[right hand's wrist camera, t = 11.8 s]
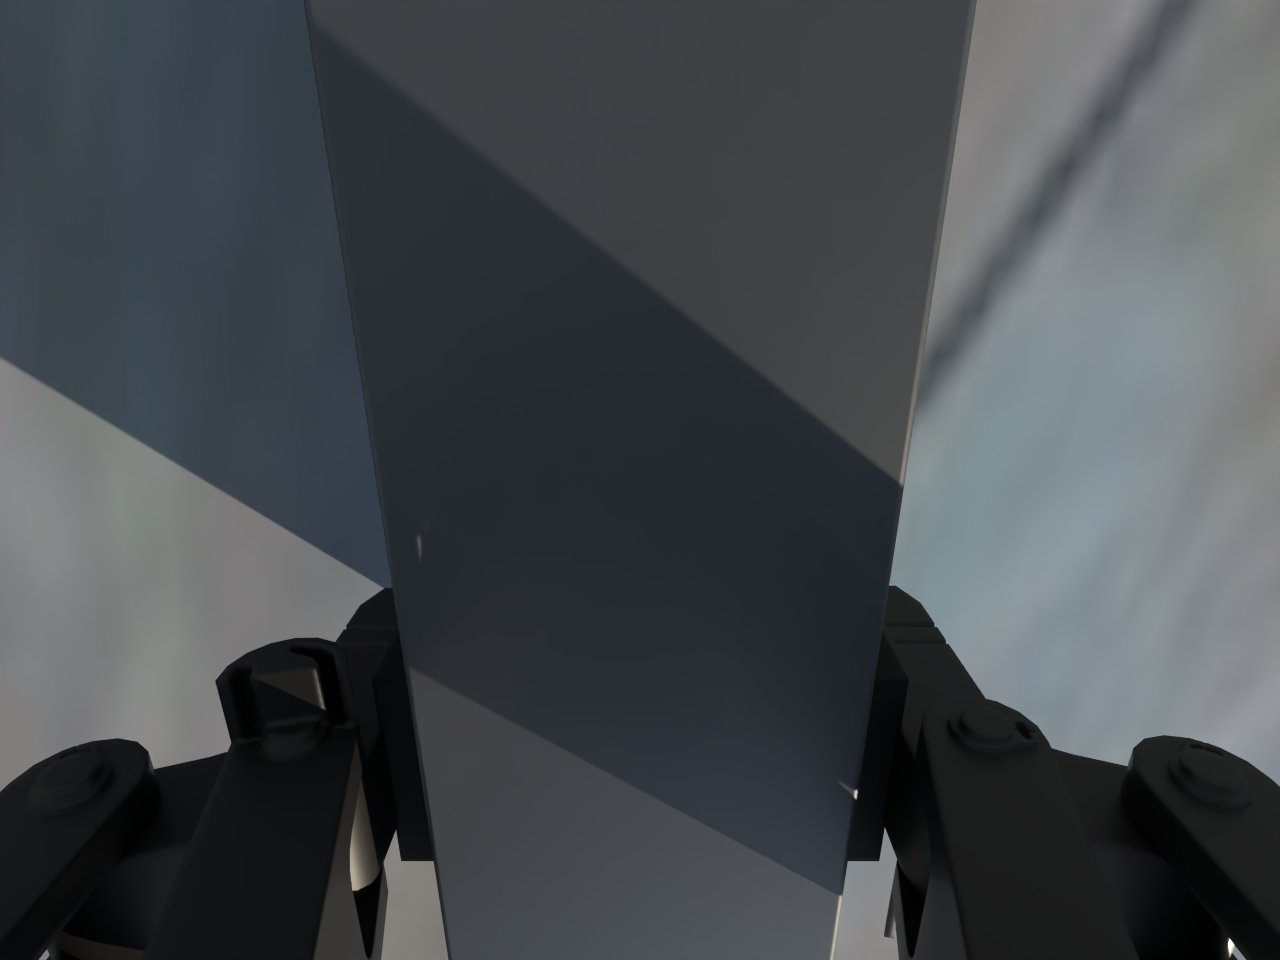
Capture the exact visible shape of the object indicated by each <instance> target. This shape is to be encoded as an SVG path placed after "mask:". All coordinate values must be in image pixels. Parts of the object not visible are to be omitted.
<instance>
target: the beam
mask: <svg viewBox="0 0 1280 960" xmlns="http://www.w3.org/2000/svg"><path fill="white" fill-rule="evenodd" d="M976 2H977V0H304V5H305V12H306V18H307V25H308V31H309V38H310V45H311V51H312V58H313V65H314V71H315V78H316V84H317V91H318V98H319V104H320V111H321V118H322V124H323V131H324V137H325V144H326V151H327V157H328V164H329V171H330V177H331V184H332V190H333V197H334V204H335V210H336V217H337V223H338V230H339V237H340V243H341V250H342V257H343V263H344V270H345V276H346V283H347V290H348V296H349V303H350V310H351V316H352V323H353V329H354V336H355V343H356V349H357V356H358V363H359V369H360V376H361V382H362V389H363V396H364V402H365V409H366V416H367V422H368V429H369V435H370V442H371V449H372V455H373V462H374V469H375V475H376V482H377V488H378V495H379V502H380V508H381V515H382V521H383V528H384V535H385V541H386V548H387V555H388V561H389V568H390V574H391V581H392V588H393V594H394V601H395V608H396V614H397V621H398V627H399V634H400V641H401V647H402V654H403V661H404V667H405V674H406V680H407V687H408V694H409V700H410V707H411V714H412V720H413V727H414V733H415V740H416V747H417V753H418V760H419V767H420V773H421V780H422V786H423V793H424V800H425V806H426V813H427V819H428V826H429V833H430V839H431V846H432V853H433V859H434V866H435V872H436V879H437V886H438V892H439V899H440V906H441V912H442V919H443V925H444V932H445V939H446V945H447V952H448V959H449V960H833V955H834V948H835V941H836V935H837V928H838V921H839V915H840V908H841V902H842V895H843V888H844V882H845V875H846V868H847V862H848V855H849V848H850V842H851V835H852V828H853V822H854V815H855V808H856V802H857V795H858V788H859V782H860V775H861V768H862V762H863V755H864V748H865V742H866V735H867V728H868V722H869V715H870V708H871V702H872V695H873V688H874V682H875V675H876V668H877V662H878V655H879V648H880V642H881V635H882V628H883V622H884V615H885V608H886V602H887V595H888V588H889V582H890V575H891V568H892V562H893V555H894V548H895V542H896V535H897V528H898V522H899V515H900V509H901V502H902V495H903V489H904V482H905V475H906V469H907V462H908V455H909V449H910V442H911V435H912V429H913V422H914V415H915V409H916V402H917V395H918V389H919V382H920V375H921V369H922V362H923V355H924V349H925V342H926V335H927V329H928V322H929V315H930V309H931V302H932V295H933V289H934V282H935V275H936V269H937V262H938V255H939V249H940V242H941V235H942V229H943V222H944V215H945V209H946V202H947V195H948V189H949V182H950V175H951V169H952V162H953V155H954V149H955V142H956V135H957V129H958V122H959V115H960V109H961V102H962V96H963V89H964V82H965V76H966V69H967V62H968V56H969V49H970V42H971V36H972V29H973V22H974V16H975V9H976Z"/></svg>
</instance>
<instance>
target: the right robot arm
mask: <svg viewBox="0 0 1280 960" xmlns="http://www.w3.org/2000/svg"><path fill="white" fill-rule="evenodd" d="M216 685H217V689H218V693H219V697H220V701H221V704H222V708H223V712H224V716H225V720H226V724H227V727H228V731H229V735H230V739H231V745H230V748H229V750H228V752H225V753H222V754H218V755H215V756H211V757H208V758H203V759H199V760H194V761H190V762H185V763H180V764H176V765H171V766H167V767H162V768H158V769H154V768H153V765H152V762H151V759H150V756H149V753H148V751H147V750H146V749H145V748H144V747H143V746H141V745H140V744H139V743H138V742H135V741H130V740H124V739H118V738H117V739H108V740H99V741H91V742H88V743H85V744H81V745H79V746H74V747H71V748H68V749H66V750H63V751H61V752H59V753H57V754H55V755H53V756H51V757H49V758H47V759H45V760H43V761H41V762H39V763H37V764H35V765H33V766H32V767H31V768H29V769H28V770H27V771H25V772H24V773H23V774H21V775H20V776H19V777H17V778H16V779H15V780H13V781H12V782H11V783H9V784H8V785H7V786H6V787H5V788H4V789H3V790H2V791H1V792H0V960H39V958H40V957H41V956H42V955H43V953H44V952H45V951H46V950H48V952H49V955H50V956H49V957H48V958H47V960H381V954H382V945H383V935H384V926H385V916H386V907H387V897H388V888H387V881H386V874H385V869H384V863H383V862H384V859H385V857H386V854H387V851H388V849H389V846H390V844H391V841H392V838H393V836H394V833H395V830H396V831H397V837H398V844H399V850H400V856H401V861H434V859H433V853H432V846H431V839H430V833H429V826H428V819H427V813H426V806H425V800H424V793H423V786H422V780H421V773H420V767H419V760H418V753H417V747H416V740H415V733H414V727H413V720H412V714H411V707H410V700H409V694H408V687H407V680H406V674H405V667H404V661H403V654H402V647H401V641H400V634H399V627H398V621H397V614H396V608H395V601H394V594H393V588H384V589H383V590H381V591H380V592H379V593H377V594H376V595H374V596H373V597H371V598H370V599H369V600H367V601H366V602H364V603H363V604H361V605H360V606H359V608H358V609H357V611H356V612H355V614H354V615H353V617H352V618H351V620H350V621H349V623H348V624H347V628H346V630H343V632H342V633H341V635H340V636H339V638H338V639H337V641H336V642H332V641H328V640H325V639H321V638H293V639H289V640H284V641H279V642H275V643H270V644H268V645H265V646H263V647H261V648H258V649H256V650H253V651H251V652H248V653H246V654H245V655H243V656H242V657H240V658H239V659H237V660H236V661H234V662H233V663H231V664H230V665H228V666H227V667H226V668H225V670H224V671H223V672H222V673H221V675H220V676H219V677H218V678H217V679H216ZM884 828H886V831H887V833H888V836H889V839H890V841H891V844H892V846H893V849H894V852H895V854H896V857H897V863H896V869H895V874H894V880H893V885H892V891H891V897H890V902H889V908H888V914H887V919H886V926H885V933H884V937H889V938H894V934H895V929H896V934H897V943H898V953H899V960H1237V958H1236V957H1235V956H1234V955H1233V953H1232V952H1233V949H1234V947H1235V946H1236V947H1237V949H1238V950H1239V951H1240V952H1241V954H1242V955H1243V956H1244V957H1245V958H1246V960H1280V787H1279V786H1278V785H1277V784H1276V783H1275V782H1274V781H1273V780H1272V779H1270V778H1269V777H1268V776H1266V775H1265V774H1264V773H1262V772H1261V771H1260V770H1258V769H1257V768H1255V767H1254V766H1253V765H1251V764H1250V763H1249V762H1247V761H1245V760H1243V759H1241V758H1239V757H1237V756H1235V755H1233V754H1231V753H1229V752H1227V751H1225V750H1223V749H1221V748H1219V747H1217V746H1214V745H1211V744H1208V743H1203V742H1201V741H1197V740H1194V739H1191V738H1183V737H1174V736H1166V735H1163V736H1157V737H1151V738H1146V739H1143V740H1142V741H1141V742H1140V743H1139V744H1138V745H1137V746H1135V747H1134V748H1133V751H1132V755H1131V758H1130V761H1129V764H1128V766H1123V765H1119V764H1114V763H1110V762H1105V761H1101V760H1096V759H1091V758H1087V757H1082V756H1078V755H1073V754H1070V753H1066V752H1063V751H1059V750H1056V749H1052V748H1051V747H1050V744H1049V742H1048V741H1047V739H1046V738H1045V736H1044V735H1043V733H1042V732H1041V731H1040V729H1039V728H1038V726H1037V725H1035V724H1034V723H1033V722H1031V721H1030V720H1029V719H1028V718H1026V717H1025V716H1024V715H1022V714H1021V713H1020V712H1018V711H1016V710H1014V709H1012V708H1009V707H1007V706H1005V705H1003V704H1001V703H999V702H997V701H993V700H988V699H986V698H985V697H984V696H983V694H982V693H981V691H980V690H979V688H978V687H977V685H976V684H975V682H974V681H973V679H972V678H971V676H970V675H969V673H968V672H967V671H966V669H965V668H964V666H963V665H962V663H961V662H960V660H959V659H958V657H957V656H956V654H955V653H954V651H953V650H952V648H951V647H950V646H949V644H946V640H945V638H944V637H943V635H942V634H941V632H940V631H939V629H938V628H937V627H934V622H933V621H932V619H931V618H930V616H929V615H928V613H927V612H926V610H925V609H924V607H923V606H922V604H921V603H920V602H918V601H917V600H916V599H914V598H913V597H911V596H910V595H908V594H907V593H905V592H904V591H903V590H901V589H900V588H898V587H897V586H889V588H888V595H887V602H886V608H885V615H884V622H883V628H882V635H881V642H880V648H879V655H878V662H877V668H876V675H875V682H874V688H873V695H872V702H871V708H870V715H869V722H868V728H867V735H866V742H865V748H864V755H863V762H862V768H861V775H860V782H859V788H858V795H857V802H856V808H855V815H854V822H853V828H852V835H851V842H850V848H849V855H848V861H879V858H880V852H881V846H882V840H883V834H884Z"/></svg>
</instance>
